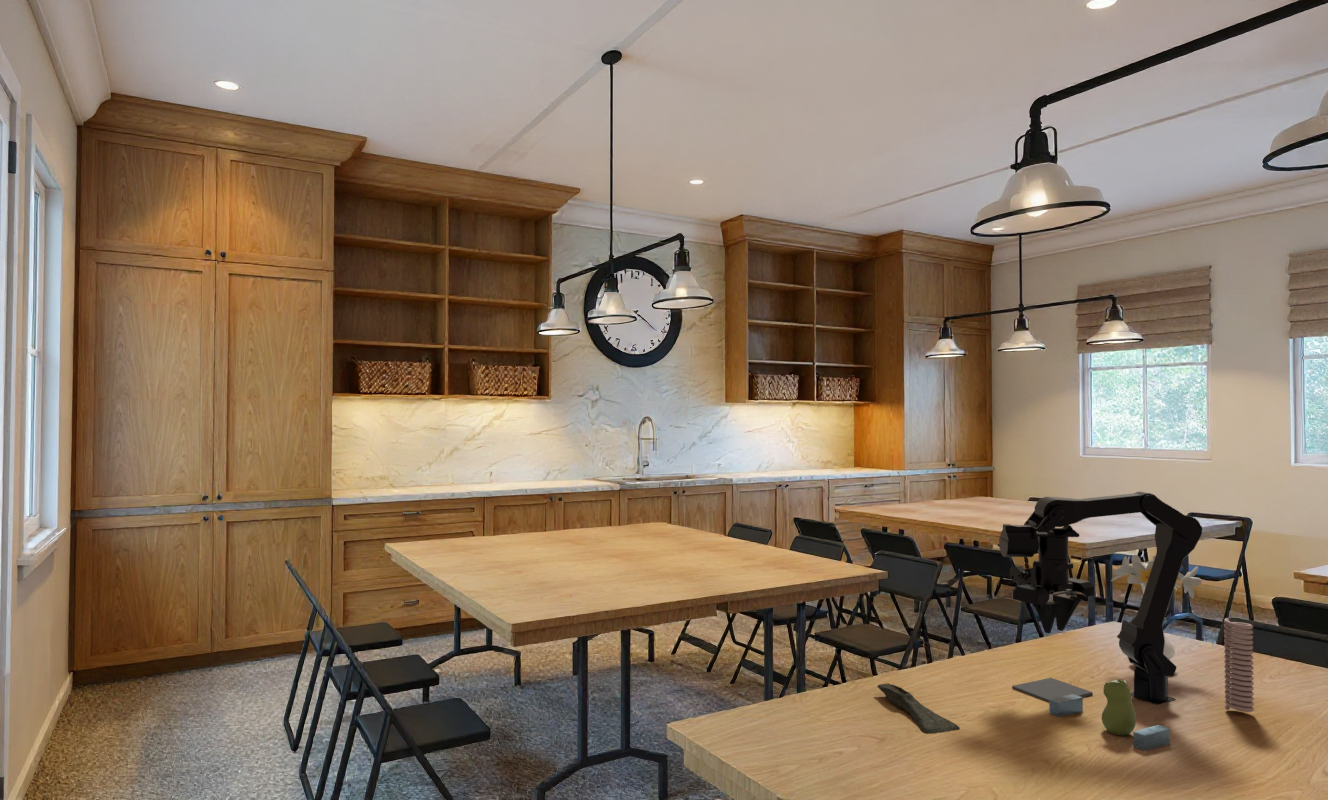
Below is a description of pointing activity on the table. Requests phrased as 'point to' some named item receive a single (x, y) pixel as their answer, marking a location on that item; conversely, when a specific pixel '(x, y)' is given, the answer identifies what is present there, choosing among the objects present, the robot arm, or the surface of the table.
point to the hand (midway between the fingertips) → (1053, 631)
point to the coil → (1238, 666)
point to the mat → (1050, 689)
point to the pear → (1118, 708)
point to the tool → (917, 710)
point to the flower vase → (1141, 577)
